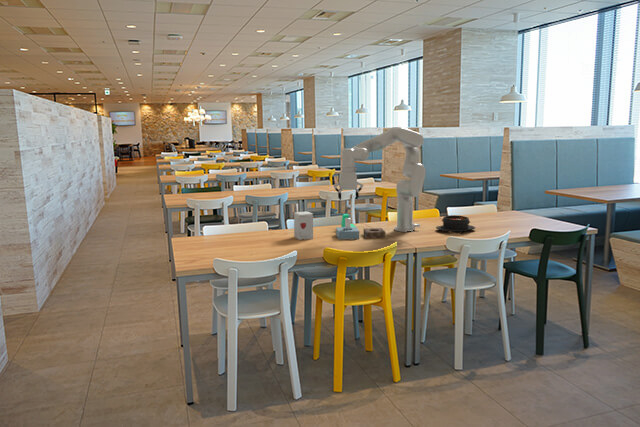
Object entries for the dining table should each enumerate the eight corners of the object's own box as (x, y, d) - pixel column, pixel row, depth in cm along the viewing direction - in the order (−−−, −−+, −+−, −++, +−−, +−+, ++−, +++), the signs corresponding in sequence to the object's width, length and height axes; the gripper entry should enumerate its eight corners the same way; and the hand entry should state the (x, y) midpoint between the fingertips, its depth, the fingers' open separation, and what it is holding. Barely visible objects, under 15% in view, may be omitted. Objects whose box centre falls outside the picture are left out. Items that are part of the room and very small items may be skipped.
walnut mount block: (381, 233, 295) (381, 228, 295) (385, 237, 285) (385, 232, 284) (363, 234, 294) (363, 228, 294) (366, 238, 284) (366, 232, 283)
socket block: (356, 234, 295) (356, 226, 294) (359, 238, 283) (359, 231, 282) (336, 234, 294) (336, 227, 293) (338, 239, 282) (338, 231, 281)
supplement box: (298, 240, 280) (298, 214, 277) (293, 236, 288) (293, 212, 286) (313, 238, 283) (313, 213, 281) (308, 235, 292) (308, 210, 289)
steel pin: (350, 236, 290) (350, 217, 288) (350, 237, 287) (350, 218, 285) (344, 236, 290) (344, 218, 288) (345, 237, 286) (345, 219, 284)
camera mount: (357, 231, 302) (357, 215, 300) (345, 232, 300) (345, 216, 299) (352, 227, 313) (353, 212, 311) (341, 228, 312) (341, 212, 310)
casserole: (464, 226, 315) (465, 213, 314) (481, 232, 298) (482, 219, 296) (429, 229, 308) (430, 215, 307) (445, 235, 291) (446, 221, 289)
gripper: (362, 169, 286) (361, 197, 289) (332, 169, 284) (332, 198, 287) (364, 170, 278) (364, 199, 281) (334, 170, 277) (334, 200, 280)
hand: (348, 199), depth 284 cm, fingers open, 9 cm apart
